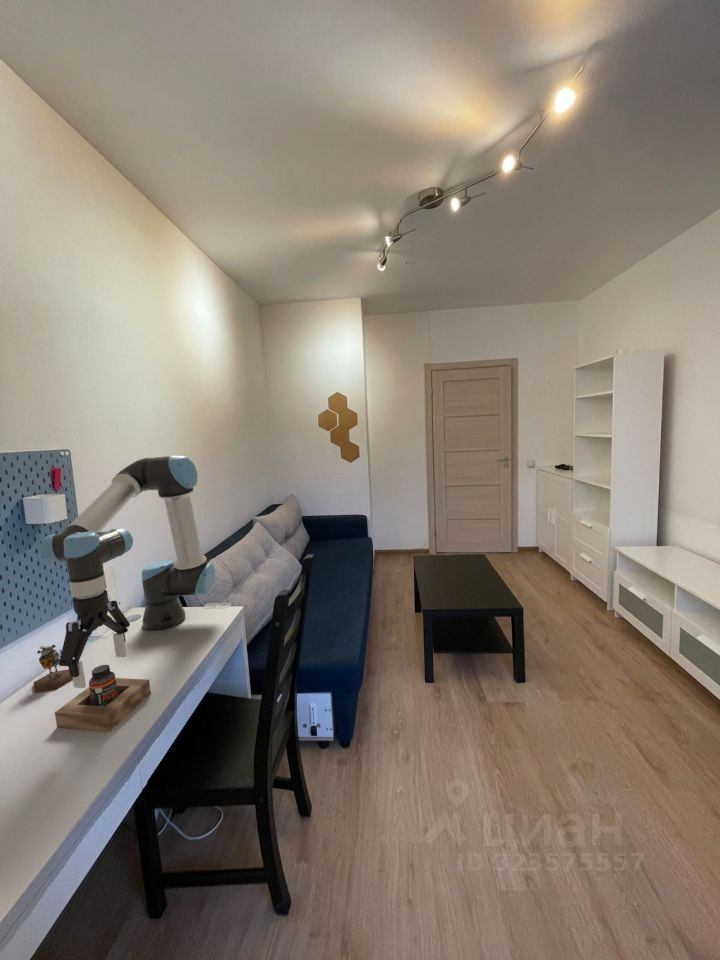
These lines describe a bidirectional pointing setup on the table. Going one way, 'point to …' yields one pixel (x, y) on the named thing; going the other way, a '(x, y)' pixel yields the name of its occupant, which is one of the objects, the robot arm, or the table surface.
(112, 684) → the supplement bottle
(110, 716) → the socket block
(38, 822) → the table surface
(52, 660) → the robot figurine
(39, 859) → the table surface
